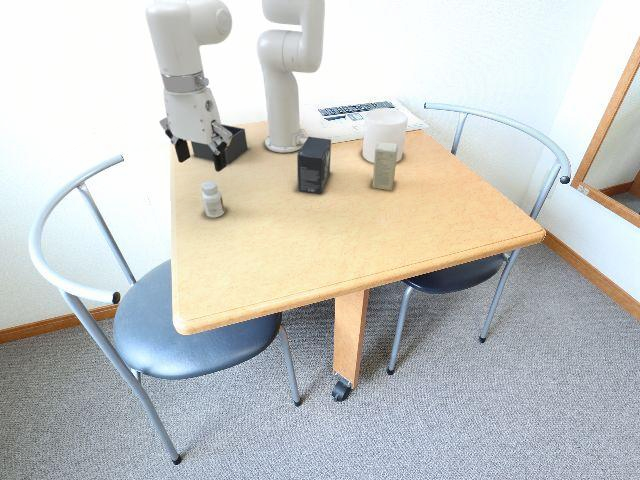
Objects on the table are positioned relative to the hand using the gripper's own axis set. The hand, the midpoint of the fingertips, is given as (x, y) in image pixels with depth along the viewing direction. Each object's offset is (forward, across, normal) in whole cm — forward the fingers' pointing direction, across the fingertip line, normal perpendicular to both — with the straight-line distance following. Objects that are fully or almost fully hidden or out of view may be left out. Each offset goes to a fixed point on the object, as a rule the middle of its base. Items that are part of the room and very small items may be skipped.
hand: (202, 164), depth 79 cm
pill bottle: (+13, 0, -1) cm, 13 cm away
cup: (+13, -28, -45) cm, 54 cm away
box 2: (+13, -33, -29) cm, 46 cm away
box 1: (+13, -16, -23) cm, 31 cm away
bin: (+13, +17, -27) cm, 34 cm away
